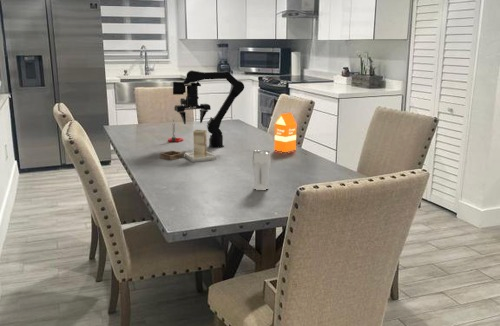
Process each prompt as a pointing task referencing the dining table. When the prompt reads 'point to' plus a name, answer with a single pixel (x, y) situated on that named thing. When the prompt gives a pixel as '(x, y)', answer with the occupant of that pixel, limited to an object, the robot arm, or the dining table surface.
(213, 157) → the tray
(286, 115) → the orange juice
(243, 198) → the dining table surface
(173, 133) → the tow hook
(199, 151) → the tan wooden block
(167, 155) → the walnut collar
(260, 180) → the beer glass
